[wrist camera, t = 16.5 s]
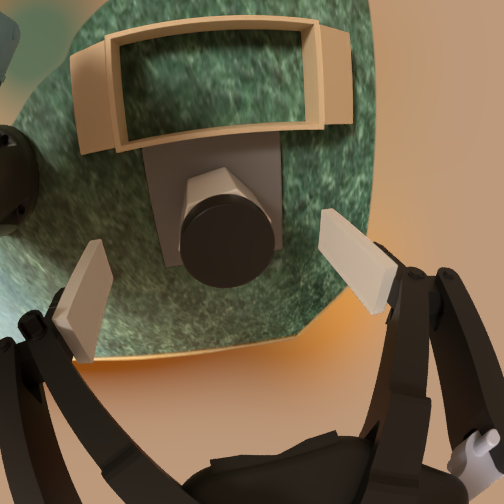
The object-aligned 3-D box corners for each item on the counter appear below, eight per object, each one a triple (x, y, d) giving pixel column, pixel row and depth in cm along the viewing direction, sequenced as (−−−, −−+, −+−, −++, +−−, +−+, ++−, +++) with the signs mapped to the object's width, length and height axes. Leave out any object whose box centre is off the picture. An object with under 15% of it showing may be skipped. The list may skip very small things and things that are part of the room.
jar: (238, 240, 37) (259, 297, 27) (176, 230, 34) (172, 287, 24) (257, 174, 33) (290, 209, 23) (190, 160, 31) (190, 189, 20)
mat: (166, 265, 37) (165, 267, 37) (142, 147, 29) (141, 147, 28) (281, 247, 39) (282, 249, 39) (278, 130, 31) (279, 130, 31)
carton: (88, 156, 28) (76, 163, 24) (77, 54, 21) (63, 49, 18) (343, 126, 32) (360, 130, 29) (339, 32, 26) (356, 26, 22)
